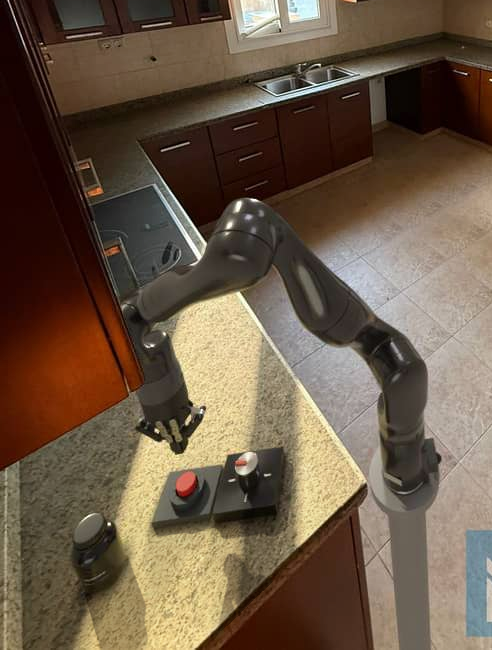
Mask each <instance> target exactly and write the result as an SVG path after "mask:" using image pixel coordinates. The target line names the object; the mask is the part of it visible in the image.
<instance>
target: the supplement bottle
mask: <svg viewBox="0 0 492 650" xmlns="http://www.w3.org/2000/svg"><path fill="white" fill-rule="evenodd" d="M120 534H121V533H120V532H119V529H118V527H117V524H116V522H115V521H114V520H113V519H111V518H107V517H106V516H105V515H104V513H103V512H98V511H96V512H93V513H90V514H88V515H87V516H85V517H84V518H83V519H81V521H80V522H79V523H78V524H77V525H76V527H75V529H74V530H73V532H72V537H71V542H72V547H71V549H70V556H69V557H70V562H71V565H72V567H73V569H74V572H75V574H76V577H77V578H78V581H79V583H80V586H81V587H82V589H83V592H85V593H86V594H89V595H96V594H100V593H102V592H104V591H106V590H107V589H108V588H110V587H111V586H112V585H114V583H115V582H116V580H118V578H119V577H120V575H121V574H122V572H123V569H124V567H125V564H126V562H127V553H126V552H127V551H126V548H125V546H124V543H123V540H122V538H121V535H120Z"/></svg>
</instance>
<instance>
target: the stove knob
mask: <svg viewBox="0 0 492 650" xmlns="http://www.w3.org/2000/svg"><path fill="white" fill-rule="evenodd" d="M246 452H247V453H244V454H243V455H241V456H240V457H239V459H238V460H237V462H236V463H235V471H236V475H237V479H238V483H239V486H240V488H241V489H243V490H249V489H252V488H253V487H255V486H256V485H257V483H258V482H259V480H260V477H261V471H260V467H259V462H258V458H257V455H256V454H255V453H253V452H250V451H246Z"/></svg>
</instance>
